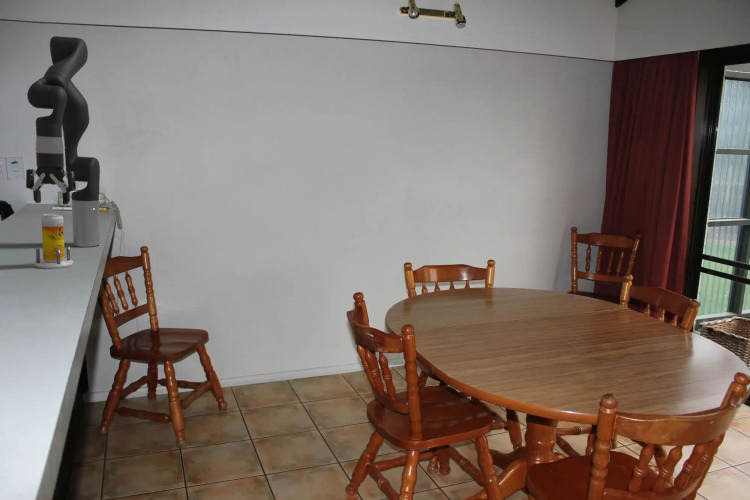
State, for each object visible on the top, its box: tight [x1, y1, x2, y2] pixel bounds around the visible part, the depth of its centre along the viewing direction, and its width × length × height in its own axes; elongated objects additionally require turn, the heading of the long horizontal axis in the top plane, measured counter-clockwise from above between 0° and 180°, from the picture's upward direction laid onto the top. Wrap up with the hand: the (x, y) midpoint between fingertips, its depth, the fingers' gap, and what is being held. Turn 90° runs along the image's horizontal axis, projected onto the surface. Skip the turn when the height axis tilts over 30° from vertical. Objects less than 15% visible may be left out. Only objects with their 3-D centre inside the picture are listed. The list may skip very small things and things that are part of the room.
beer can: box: [41, 213, 66, 263], centre depth 190 cm, size 6×6×15 cm
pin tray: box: [33, 245, 74, 270], centre depth 191 cm, size 11×11×6 cm
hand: (51, 203), depth 188 cm, fingers open, 8 cm apart
